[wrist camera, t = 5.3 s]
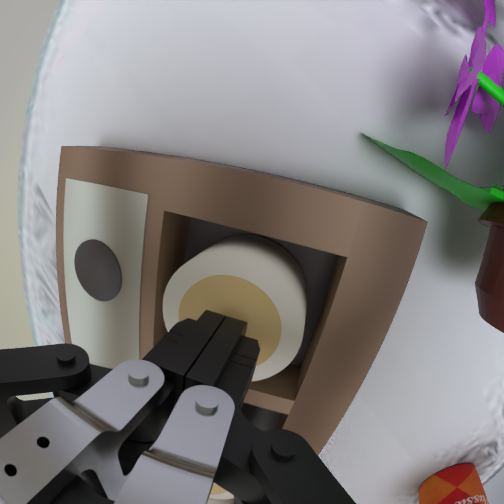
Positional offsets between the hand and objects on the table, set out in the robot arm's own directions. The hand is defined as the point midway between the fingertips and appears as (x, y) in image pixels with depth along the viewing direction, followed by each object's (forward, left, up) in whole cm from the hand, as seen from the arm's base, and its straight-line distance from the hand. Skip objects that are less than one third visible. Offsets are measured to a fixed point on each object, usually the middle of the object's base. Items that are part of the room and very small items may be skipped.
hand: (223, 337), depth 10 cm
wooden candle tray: (+2, +8, -4) cm, 9 cm away
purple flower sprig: (-9, -21, -5) cm, 23 cm away
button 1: (0, 0, -4) cm, 4 cm away
